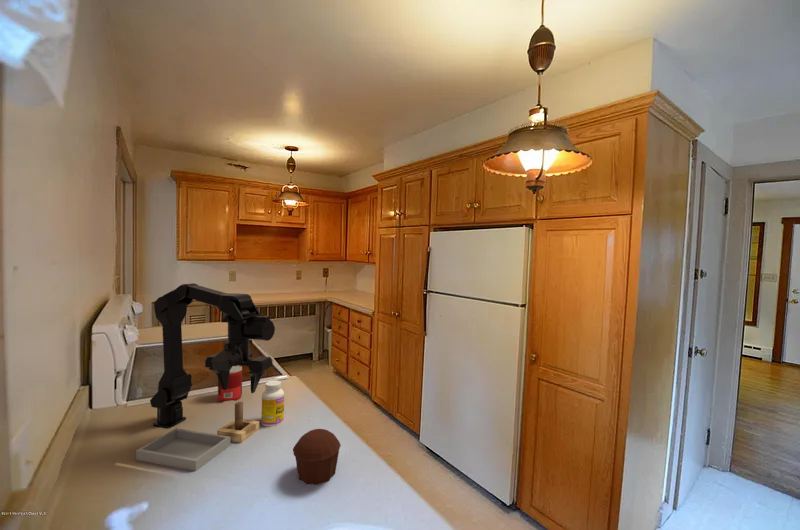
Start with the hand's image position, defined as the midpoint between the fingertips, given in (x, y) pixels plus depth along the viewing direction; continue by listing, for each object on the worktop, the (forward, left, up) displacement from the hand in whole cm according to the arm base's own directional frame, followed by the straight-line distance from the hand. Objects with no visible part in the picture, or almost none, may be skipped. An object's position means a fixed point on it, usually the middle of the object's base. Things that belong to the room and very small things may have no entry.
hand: (239, 391), depth 104 cm
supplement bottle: (+5, +10, -13) cm, 17 cm away
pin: (0, 0, -13) cm, 13 cm away
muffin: (+30, -10, -13) cm, 34 cm away
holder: (0, 0, -13) cm, 13 cm away
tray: (-7, -12, -13) cm, 19 cm away
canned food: (-21, +23, -13) cm, 34 cm away
